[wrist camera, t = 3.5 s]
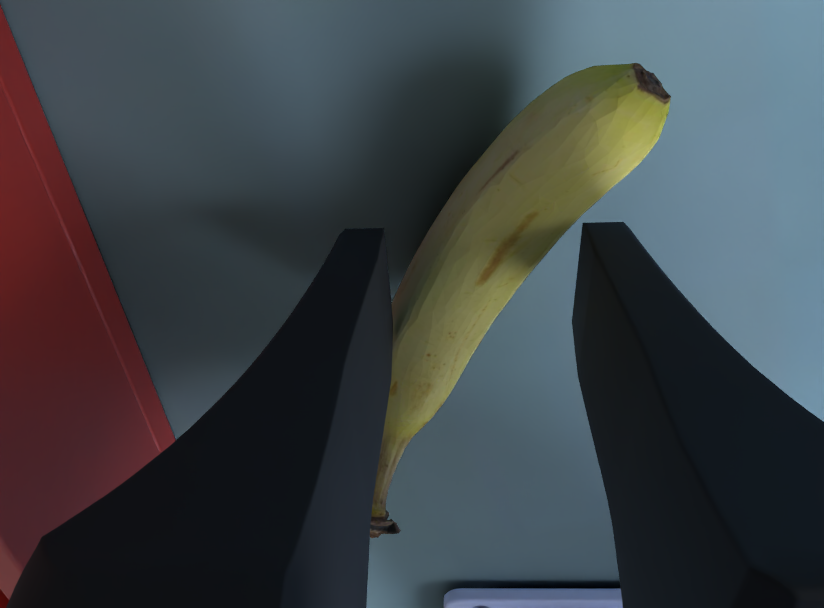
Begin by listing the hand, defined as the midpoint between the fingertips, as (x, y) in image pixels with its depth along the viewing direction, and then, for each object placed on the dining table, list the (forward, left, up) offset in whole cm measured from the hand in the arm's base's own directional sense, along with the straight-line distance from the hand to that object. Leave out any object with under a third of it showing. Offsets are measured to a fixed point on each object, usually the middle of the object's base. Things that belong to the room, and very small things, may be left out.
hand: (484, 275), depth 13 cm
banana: (0, 0, -2) cm, 2 cm away
